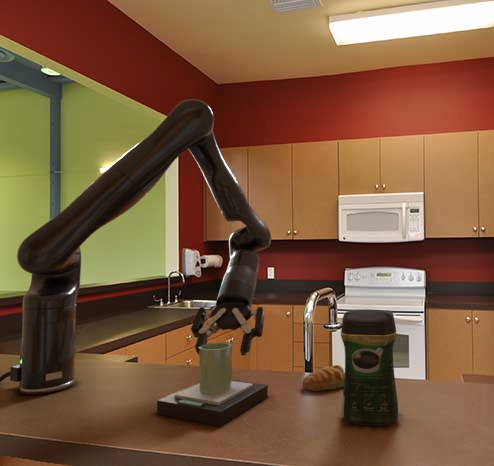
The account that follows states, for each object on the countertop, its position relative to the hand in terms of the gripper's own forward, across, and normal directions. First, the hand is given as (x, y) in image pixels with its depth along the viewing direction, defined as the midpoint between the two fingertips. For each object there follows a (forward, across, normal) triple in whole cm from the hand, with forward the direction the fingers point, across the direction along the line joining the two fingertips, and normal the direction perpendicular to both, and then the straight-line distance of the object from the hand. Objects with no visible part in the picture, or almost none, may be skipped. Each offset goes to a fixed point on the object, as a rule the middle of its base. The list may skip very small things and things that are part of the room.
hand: (221, 353), depth 79 cm
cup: (+6, 0, +2) cm, 7 cm away
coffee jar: (+13, +29, 0) cm, 32 cm away
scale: (+9, 0, +4) cm, 9 cm away
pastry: (+2, +20, +11) cm, 23 cm away
